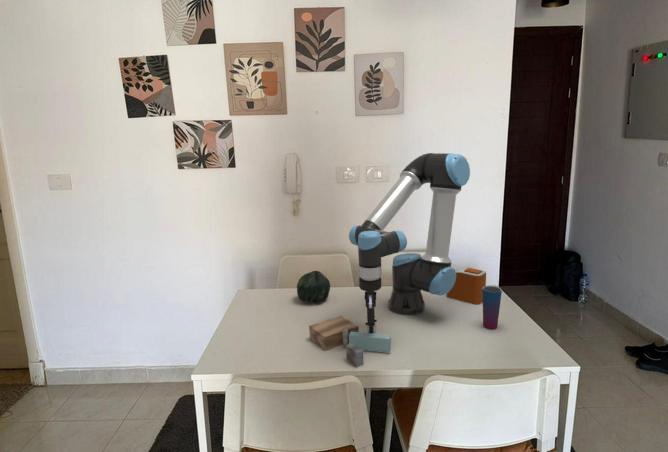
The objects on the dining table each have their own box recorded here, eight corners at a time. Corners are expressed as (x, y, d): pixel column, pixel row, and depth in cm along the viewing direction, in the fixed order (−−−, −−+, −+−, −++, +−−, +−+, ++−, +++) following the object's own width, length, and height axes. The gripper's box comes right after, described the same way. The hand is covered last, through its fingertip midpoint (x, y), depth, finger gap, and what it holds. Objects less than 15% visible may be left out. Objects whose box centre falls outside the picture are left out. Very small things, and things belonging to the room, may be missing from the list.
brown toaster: (486, 299, 189) (488, 269, 186) (478, 305, 183) (479, 274, 180) (455, 291, 199) (456, 263, 196) (446, 297, 193) (447, 268, 190)
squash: (296, 282, 202) (296, 265, 190) (328, 281, 203) (330, 264, 191) (297, 310, 193) (297, 294, 181) (330, 309, 195) (333, 293, 183)
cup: (501, 331, 159) (503, 292, 156) (481, 329, 160) (483, 291, 157) (498, 323, 166) (500, 286, 162) (479, 322, 167) (481, 285, 164)
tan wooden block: (309, 338, 158) (309, 320, 156) (341, 328, 165) (341, 311, 164) (350, 369, 136) (350, 349, 135) (385, 356, 144) (385, 336, 142)
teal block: (349, 348, 149) (348, 335, 148) (351, 344, 152) (350, 331, 151) (389, 352, 145) (389, 339, 144) (391, 348, 148) (391, 335, 147)
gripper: (359, 270, 153) (361, 332, 158) (358, 283, 140) (360, 349, 146) (381, 270, 152) (382, 332, 157) (381, 283, 139) (382, 350, 145)
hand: (371, 340), depth 151 cm, fingers closed
